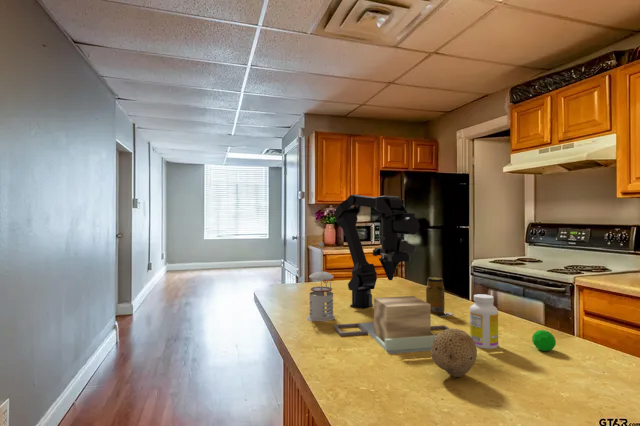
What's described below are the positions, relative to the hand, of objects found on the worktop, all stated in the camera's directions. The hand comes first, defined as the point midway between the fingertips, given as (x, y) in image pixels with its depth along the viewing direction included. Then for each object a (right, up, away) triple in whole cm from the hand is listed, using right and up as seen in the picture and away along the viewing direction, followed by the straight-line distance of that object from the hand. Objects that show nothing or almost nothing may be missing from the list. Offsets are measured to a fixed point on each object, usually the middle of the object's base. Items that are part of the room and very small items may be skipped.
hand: (390, 280), depth 122 cm
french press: (-23, -12, -1) cm, 26 cm away
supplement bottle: (+19, -12, -27) cm, 35 cm away
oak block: (-1, -12, -22) cm, 25 cm away
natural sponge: (+4, -12, -45) cm, 47 cm away
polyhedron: (+32, -12, -30) cm, 46 cm away
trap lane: (-2, -12, -20) cm, 23 cm away
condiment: (+17, -12, +3) cm, 21 cm away
